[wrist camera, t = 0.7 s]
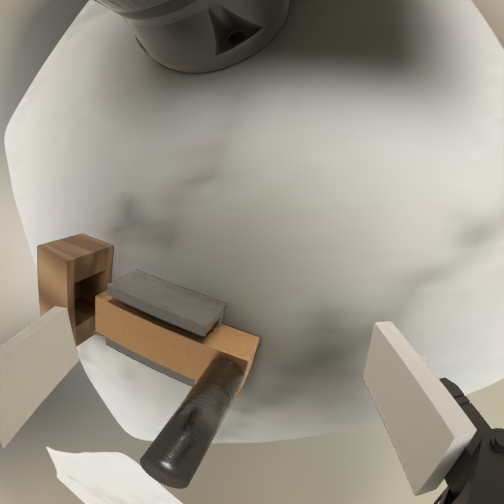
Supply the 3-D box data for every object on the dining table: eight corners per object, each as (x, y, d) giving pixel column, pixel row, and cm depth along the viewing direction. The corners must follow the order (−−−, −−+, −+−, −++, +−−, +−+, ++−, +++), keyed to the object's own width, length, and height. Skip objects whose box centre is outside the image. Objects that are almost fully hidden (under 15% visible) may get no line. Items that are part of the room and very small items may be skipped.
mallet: (120, 283, 29) (3, 344, 14) (260, 337, 26) (191, 468, 12) (118, 316, 30) (15, 385, 16) (249, 371, 27) (185, 497, 13)
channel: (137, 269, 29) (107, 284, 25) (226, 303, 28) (206, 326, 23) (132, 325, 31) (106, 344, 27) (213, 359, 30) (194, 387, 25)
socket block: (82, 233, 31) (37, 245, 24) (113, 245, 30) (67, 261, 23) (80, 308, 33) (42, 329, 27) (109, 324, 32) (70, 350, 26)
